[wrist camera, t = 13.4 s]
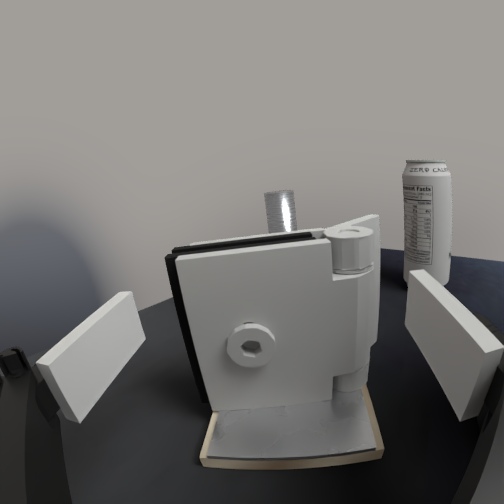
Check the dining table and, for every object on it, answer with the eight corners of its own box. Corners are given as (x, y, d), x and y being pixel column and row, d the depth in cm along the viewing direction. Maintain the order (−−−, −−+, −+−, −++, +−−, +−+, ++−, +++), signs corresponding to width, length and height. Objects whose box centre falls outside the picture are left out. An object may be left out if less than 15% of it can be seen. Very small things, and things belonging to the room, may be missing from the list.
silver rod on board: (336, 312, 28) (330, 186, 25) (375, 450, 12) (404, 218, 9) (245, 319, 29) (227, 196, 26) (207, 458, 13) (142, 244, 10)
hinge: (371, 337, 22) (374, 213, 20) (409, 371, 17) (425, 226, 15) (199, 381, 20) (167, 245, 17) (205, 434, 15) (159, 273, 12)
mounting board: (339, 314, 29) (339, 305, 29) (381, 458, 12) (384, 448, 12) (243, 322, 31) (242, 313, 31) (203, 466, 14) (199, 457, 13)
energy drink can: (456, 289, 29) (460, 160, 25) (417, 299, 29) (418, 160, 25) (431, 273, 35) (431, 160, 31) (395, 280, 35) (392, 160, 31)
